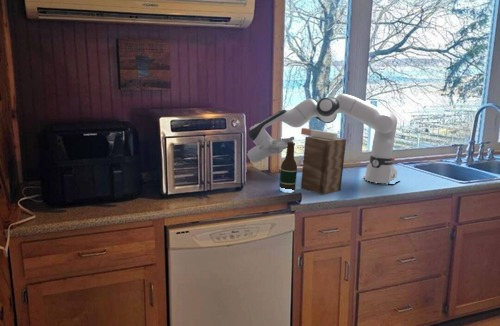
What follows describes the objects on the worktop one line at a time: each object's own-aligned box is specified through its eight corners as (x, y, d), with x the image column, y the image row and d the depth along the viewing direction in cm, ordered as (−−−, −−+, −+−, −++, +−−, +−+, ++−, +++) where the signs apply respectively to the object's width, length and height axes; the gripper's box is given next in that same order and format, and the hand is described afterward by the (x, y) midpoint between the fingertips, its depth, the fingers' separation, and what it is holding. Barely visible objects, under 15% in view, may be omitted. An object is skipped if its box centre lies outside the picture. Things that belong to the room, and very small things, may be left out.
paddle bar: (304, 133, 235) (304, 128, 234) (336, 139, 221) (337, 133, 221) (301, 134, 233) (301, 128, 232) (334, 139, 220) (334, 133, 219)
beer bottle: (293, 194, 215) (298, 144, 211) (277, 192, 217) (281, 142, 212) (295, 190, 223) (300, 142, 218) (279, 188, 224) (284, 140, 220)
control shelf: (319, 184, 239) (324, 135, 234) (340, 190, 230) (346, 139, 225) (300, 188, 228) (305, 137, 223) (322, 194, 219) (327, 141, 214)
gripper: (255, 143, 243) (273, 133, 234) (279, 141, 258) (297, 132, 249) (258, 154, 242) (276, 145, 233) (283, 151, 257) (301, 142, 248)
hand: (287, 138), depth 241 cm, fingers open, 8 cm apart
